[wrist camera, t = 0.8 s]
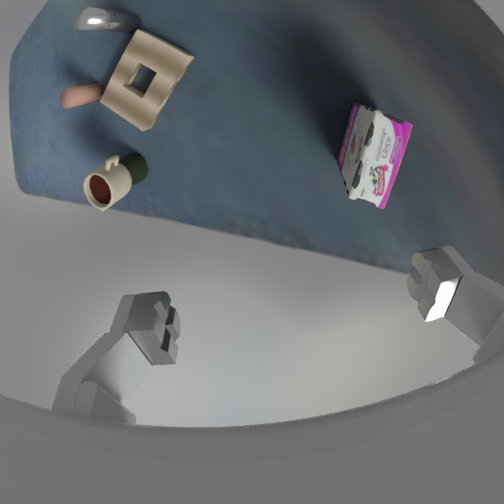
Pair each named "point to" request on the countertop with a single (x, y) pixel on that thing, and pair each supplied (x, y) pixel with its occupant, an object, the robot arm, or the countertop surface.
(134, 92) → the hole plate
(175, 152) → the countertop surface
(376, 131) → the candy bar box
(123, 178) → the character mug
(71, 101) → the terracotta pin
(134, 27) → the steel pin
